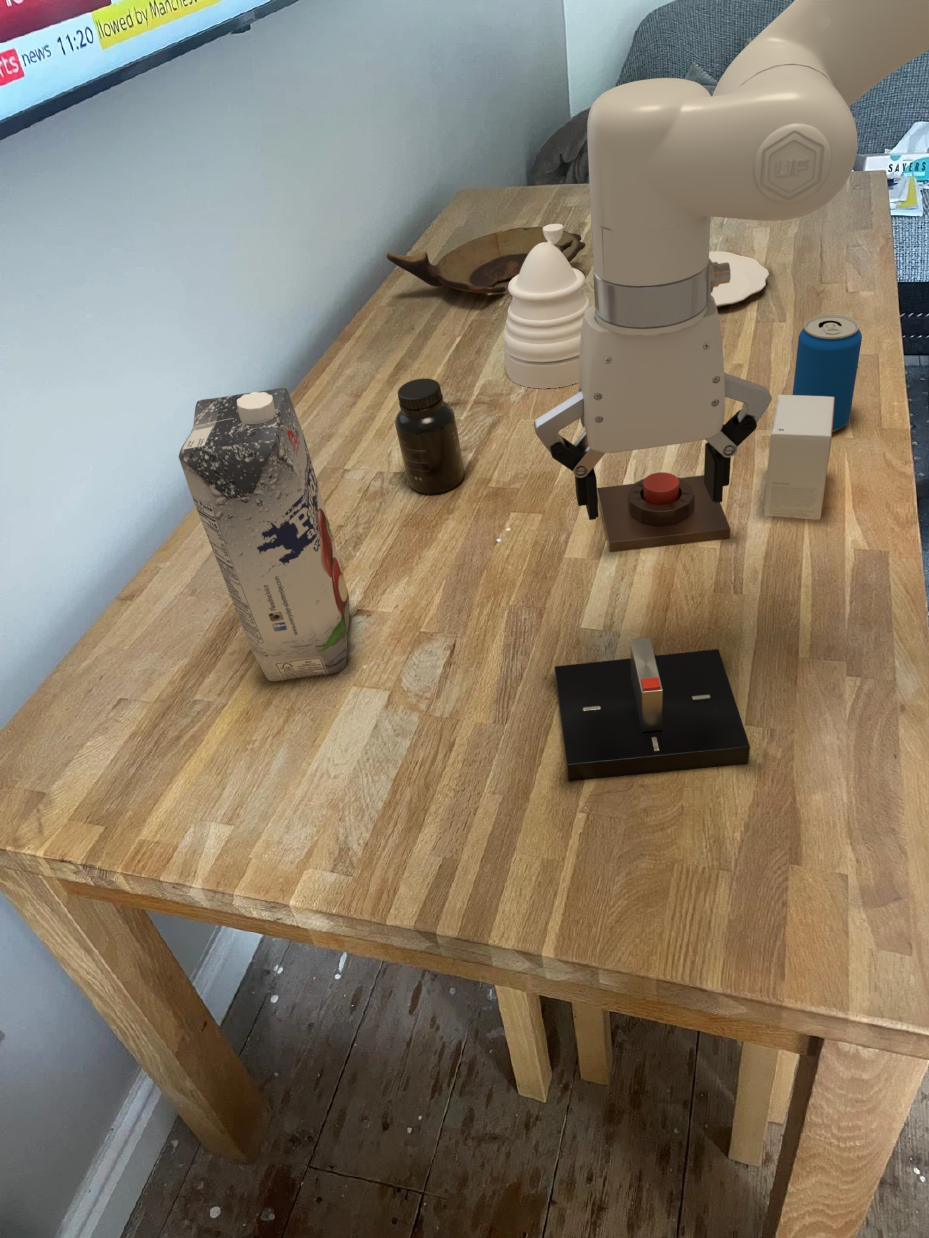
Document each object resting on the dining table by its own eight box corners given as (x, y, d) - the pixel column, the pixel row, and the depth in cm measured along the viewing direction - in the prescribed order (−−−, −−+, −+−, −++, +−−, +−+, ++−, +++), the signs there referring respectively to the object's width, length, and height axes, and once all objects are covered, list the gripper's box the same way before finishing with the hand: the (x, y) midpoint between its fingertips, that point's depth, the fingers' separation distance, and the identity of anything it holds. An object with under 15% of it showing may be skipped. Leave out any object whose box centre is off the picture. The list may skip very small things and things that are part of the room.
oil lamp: (570, 311, 141) (567, 260, 136) (385, 313, 150) (375, 265, 145) (596, 253, 157) (594, 206, 152) (427, 258, 166) (420, 213, 161)
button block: (708, 491, 102) (709, 459, 99) (729, 546, 95) (731, 513, 92) (597, 504, 103) (596, 473, 100) (609, 560, 95) (608, 528, 93)
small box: (819, 528, 95) (832, 437, 88) (761, 523, 97) (770, 434, 90) (824, 483, 100) (836, 395, 93) (769, 480, 102) (777, 392, 95)
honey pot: (549, 337, 136) (538, 208, 124) (619, 358, 128) (615, 223, 116) (487, 373, 130) (470, 242, 118) (557, 398, 122) (546, 260, 110)
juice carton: (260, 697, 87) (160, 445, 70) (272, 622, 95) (184, 380, 77) (354, 684, 87) (277, 427, 69) (358, 611, 95) (290, 364, 77)
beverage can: (842, 407, 111) (856, 310, 103) (853, 436, 106) (869, 336, 98) (785, 411, 112) (795, 315, 104) (794, 439, 107) (805, 341, 99)
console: (717, 673, 82) (718, 647, 80) (747, 772, 73) (750, 745, 71) (556, 690, 83) (554, 664, 81) (569, 789, 74) (566, 763, 72)
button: (675, 484, 98) (675, 470, 96) (682, 503, 95) (682, 489, 94) (640, 488, 98) (640, 474, 97) (646, 508, 95) (646, 493, 94)
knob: (630, 678, 78) (629, 636, 75) (650, 676, 78) (650, 634, 75) (642, 732, 74) (641, 690, 71) (662, 730, 74) (662, 688, 71)
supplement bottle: (430, 459, 115) (414, 368, 107) (476, 471, 111) (462, 379, 103) (396, 488, 111) (376, 396, 103) (442, 501, 107) (425, 408, 100)
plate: (609, 317, 138) (608, 306, 137) (641, 261, 152) (641, 250, 151) (756, 321, 131) (757, 309, 130) (775, 262, 145) (776, 251, 144)
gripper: (764, 252, 66) (748, 461, 77) (518, 289, 67) (538, 490, 78) (797, 294, 60) (775, 513, 71) (528, 334, 61) (548, 544, 72)
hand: (651, 501), depth 74 cm, fingers open, 9 cm apart
